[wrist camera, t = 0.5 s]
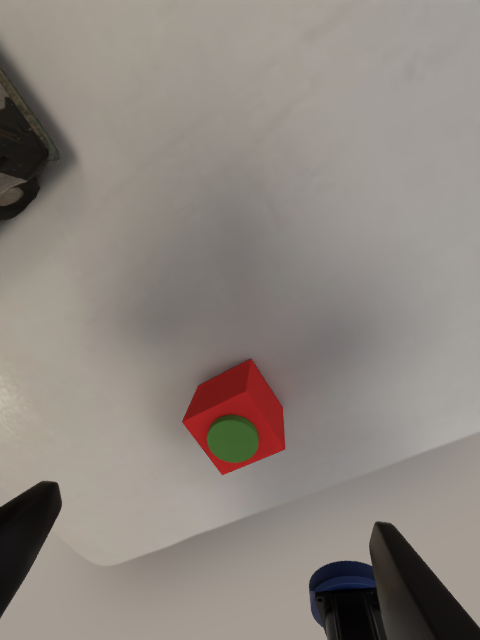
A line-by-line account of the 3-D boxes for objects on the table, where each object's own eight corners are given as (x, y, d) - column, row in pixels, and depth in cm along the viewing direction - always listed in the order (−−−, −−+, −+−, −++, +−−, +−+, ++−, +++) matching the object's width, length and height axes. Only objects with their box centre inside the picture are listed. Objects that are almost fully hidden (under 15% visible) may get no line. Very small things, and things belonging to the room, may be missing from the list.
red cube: (283, 407, 23) (286, 456, 18) (230, 431, 24) (220, 483, 19) (251, 358, 22) (245, 396, 17) (197, 385, 23) (178, 428, 18)
